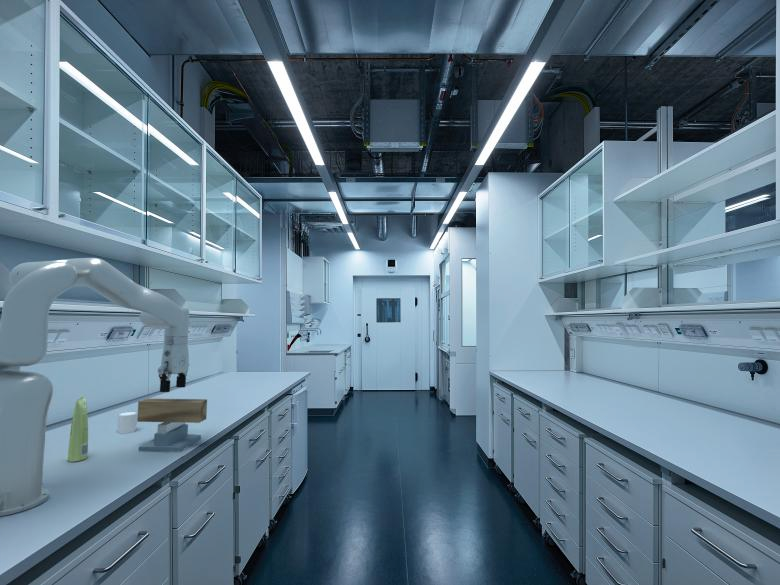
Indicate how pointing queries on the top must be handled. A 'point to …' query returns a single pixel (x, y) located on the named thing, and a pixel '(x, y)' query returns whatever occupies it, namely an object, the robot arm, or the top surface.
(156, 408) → the walnut bar
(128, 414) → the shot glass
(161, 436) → the stand
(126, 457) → the top surface
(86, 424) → the tube
